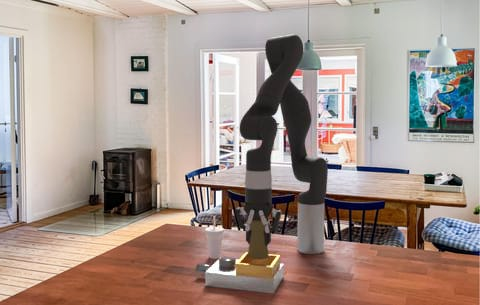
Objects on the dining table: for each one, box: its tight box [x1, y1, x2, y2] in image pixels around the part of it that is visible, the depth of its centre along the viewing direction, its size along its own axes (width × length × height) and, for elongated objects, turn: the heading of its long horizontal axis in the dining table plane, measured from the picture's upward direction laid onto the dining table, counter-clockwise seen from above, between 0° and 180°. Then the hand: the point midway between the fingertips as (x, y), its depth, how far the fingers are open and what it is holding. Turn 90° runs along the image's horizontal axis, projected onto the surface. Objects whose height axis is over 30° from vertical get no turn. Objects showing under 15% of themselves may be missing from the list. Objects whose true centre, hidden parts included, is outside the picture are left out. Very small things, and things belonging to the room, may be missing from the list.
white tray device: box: [195, 251, 284, 294], centre depth 142 cm, size 13×25×7 cm, turn 73°
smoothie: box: [204, 215, 225, 260], centre depth 163 cm, size 6×6×14 cm
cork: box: [247, 220, 269, 260], centre depth 139 cm, size 6×6×11 cm
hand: (258, 243), depth 140 cm, fingers closed on cork, 4 cm apart
